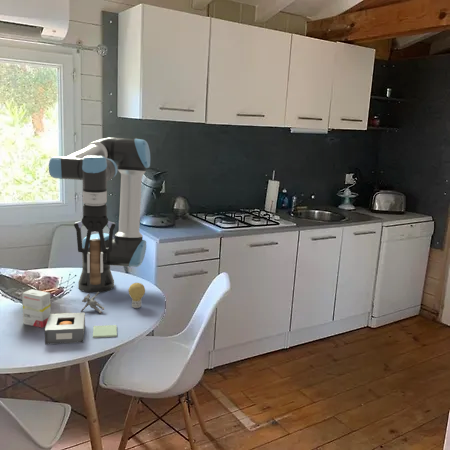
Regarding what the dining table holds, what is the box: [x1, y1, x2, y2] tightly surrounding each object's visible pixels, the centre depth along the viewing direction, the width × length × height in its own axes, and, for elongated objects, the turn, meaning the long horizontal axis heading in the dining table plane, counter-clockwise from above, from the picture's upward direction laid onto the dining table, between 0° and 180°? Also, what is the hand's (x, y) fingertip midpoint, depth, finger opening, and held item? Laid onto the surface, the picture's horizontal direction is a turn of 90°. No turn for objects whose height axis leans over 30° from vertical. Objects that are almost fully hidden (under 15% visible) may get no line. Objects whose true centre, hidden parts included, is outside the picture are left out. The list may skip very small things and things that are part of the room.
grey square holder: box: [44, 312, 86, 345], centre depth 167 cm, size 13×12×5 cm
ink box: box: [21, 288, 52, 329], centre depth 173 cm, size 9×5×12 cm, turn 72°
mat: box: [92, 324, 118, 339], centre depth 171 cm, size 8×8×1 cm
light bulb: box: [128, 282, 146, 309], centre depth 192 cm, size 6×6×10 cm
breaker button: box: [60, 321, 72, 325], centre depth 167 cm, size 4×4×3 cm
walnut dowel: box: [89, 239, 101, 285], centre depth 164 cm, size 4×4×15 cm
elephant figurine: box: [80, 292, 105, 314], centre depth 187 cm, size 10×6×9 cm
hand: (95, 271), depth 165 cm, fingers closed on walnut dowel, 3 cm apart
